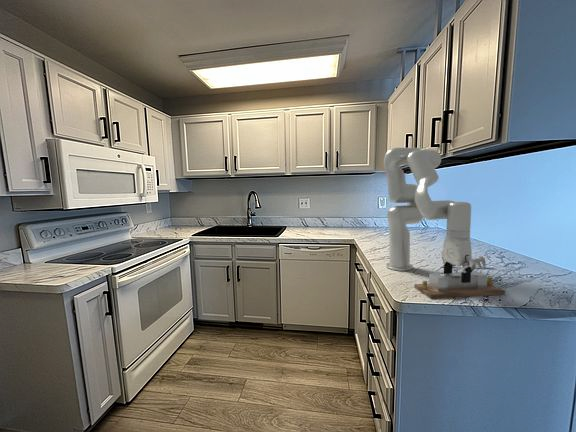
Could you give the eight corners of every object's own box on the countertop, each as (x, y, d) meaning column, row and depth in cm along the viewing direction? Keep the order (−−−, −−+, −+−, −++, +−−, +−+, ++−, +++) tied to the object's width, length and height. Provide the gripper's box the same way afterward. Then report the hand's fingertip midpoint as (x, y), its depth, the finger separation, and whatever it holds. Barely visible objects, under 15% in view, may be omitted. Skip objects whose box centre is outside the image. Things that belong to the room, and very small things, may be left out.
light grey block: (429, 285, 102) (429, 273, 102) (475, 283, 103) (475, 270, 103) (438, 291, 96) (438, 278, 96) (486, 288, 97) (487, 275, 97)
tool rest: (414, 287, 105) (414, 276, 104) (480, 283, 106) (480, 273, 106) (430, 298, 94) (430, 286, 93) (504, 294, 95) (504, 282, 95)
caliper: (484, 267, 128) (484, 255, 127) (485, 268, 127) (485, 255, 126) (440, 267, 131) (440, 255, 130) (441, 268, 130) (441, 256, 129)
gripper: (434, 231, 106) (433, 271, 108) (465, 239, 89) (463, 287, 91) (451, 230, 107) (450, 270, 109) (486, 238, 90) (483, 285, 91)
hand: (456, 278), depth 100 cm, fingers open, 9 cm apart
